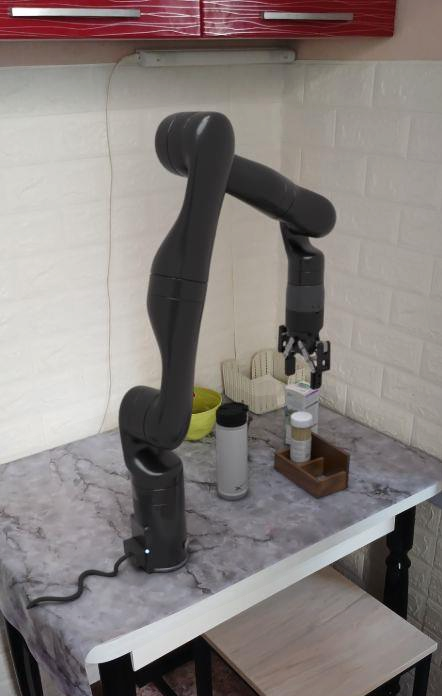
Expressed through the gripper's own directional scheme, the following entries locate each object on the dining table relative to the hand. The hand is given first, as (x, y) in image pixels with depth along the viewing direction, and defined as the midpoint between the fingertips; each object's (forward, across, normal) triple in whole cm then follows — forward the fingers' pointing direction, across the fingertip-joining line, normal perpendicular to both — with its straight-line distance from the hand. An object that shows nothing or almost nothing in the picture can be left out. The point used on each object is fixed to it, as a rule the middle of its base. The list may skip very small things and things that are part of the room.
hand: (302, 381), depth 155 cm
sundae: (+21, -12, -8) cm, 26 cm away
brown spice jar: (+21, 0, 0) cm, 21 cm away
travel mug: (+21, 0, -17) cm, 27 cm away
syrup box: (+21, -10, +8) cm, 25 cm away
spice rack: (+21, +4, 0) cm, 21 cm away
